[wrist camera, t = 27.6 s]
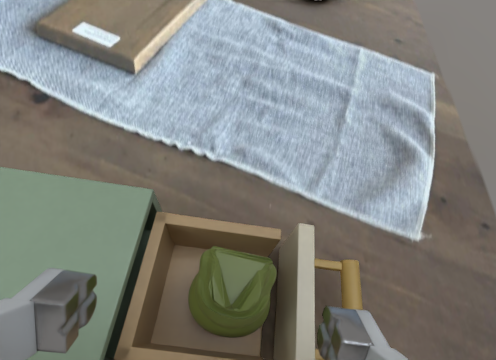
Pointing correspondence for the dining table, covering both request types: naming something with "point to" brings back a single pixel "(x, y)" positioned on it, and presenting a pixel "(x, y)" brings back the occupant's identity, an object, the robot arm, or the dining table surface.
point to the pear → (231, 292)
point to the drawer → (186, 268)
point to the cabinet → (76, 245)
